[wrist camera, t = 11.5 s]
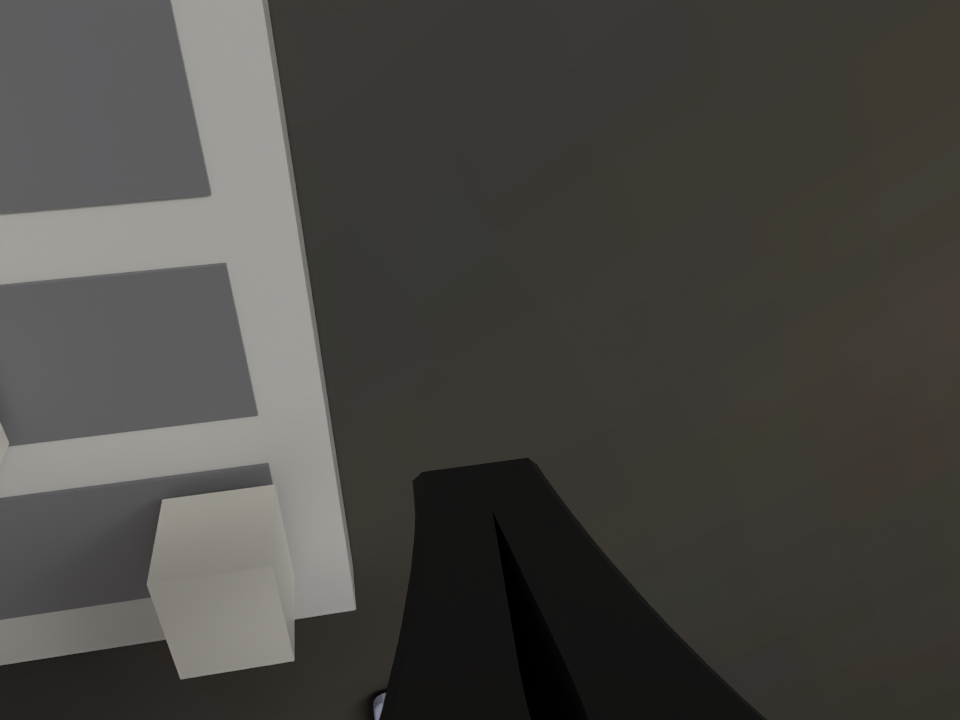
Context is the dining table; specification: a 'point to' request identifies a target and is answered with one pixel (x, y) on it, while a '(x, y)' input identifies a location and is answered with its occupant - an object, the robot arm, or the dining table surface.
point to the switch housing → (149, 311)
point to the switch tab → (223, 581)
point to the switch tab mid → (3, 443)
